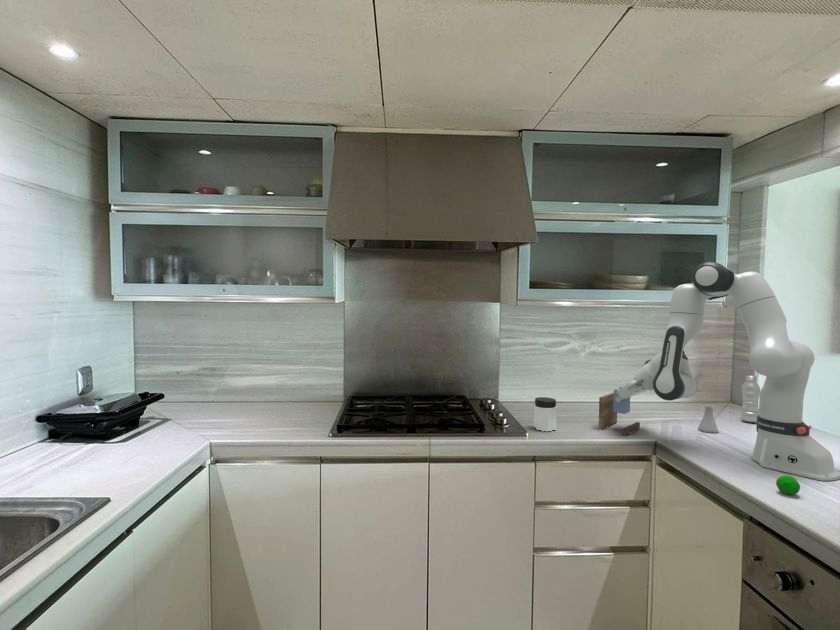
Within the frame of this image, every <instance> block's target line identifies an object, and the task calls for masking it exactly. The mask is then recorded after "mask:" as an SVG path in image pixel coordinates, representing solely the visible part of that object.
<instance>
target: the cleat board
mask: <svg viewBox="0 0 840 630" xmlns="http://www.w3.org/2000/svg"><path fill="white" fill-rule="evenodd" d="M598 398H599V400H598V401H599V404H598V430H599V429H602V430H601V431H604V430H606V429H608V428H607V427H609V428H610V426H611V427H613V426H615V425H617V424H618V413H617V412H613V405H614V392H612V393H608V394H606V395H602V396H600V397H598ZM616 423H617V424H616ZM614 424H615V425H614ZM612 425H613V426H612ZM605 428H606V429H605ZM640 428H641V423H640V422H638V421H636V422H634V423H631V424H630V425H628V426H625V427H623V428H622V436H628V435H630V434H632V433H634V432H636V431H638V430H639V429H640ZM603 429H604V430H603ZM635 430H636V431H635ZM633 431H634V432H633ZM631 432H632V433H631ZM629 433H630V434H629ZM627 434H628V435H627Z"/></svg>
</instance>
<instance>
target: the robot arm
mask: <svg viewBox="0 0 840 630" xmlns="http://www.w3.org/2000/svg"><path fill="white" fill-rule="evenodd" d="M691 282H692V283H683V284H680V285H678V286H676V287H675V288H674V289H673V292H672V295H671V299H670V303H669V309H668V319H667V327H666V331H665V337H664V340H663V345H662V351H660V352H659V353H658V354H656V355H655V356H653V357H652V359H651V360H650V361H649V362H648V363H645V364H644V365H642V367H640V368H639V369H638V370H636V371H635V372H634V377H633V380H631V381H629V382H628V383H626V384H625V385H623V386H621V387H622V388H621V389H619V390H618V391H617V394H618V395H619V396H618V397H617V398H616V399H615V400H616V401H617V402H620V401H622V400H623V399H626V398H628V397H630V398H631V397H634V396H636V395H639V394H642V393H644V392H646V391H654V394H656V395H657V396H658V397H659V398H660V399H662V400H664V401H669V402H670V401H675V400H678V399H679V400H680V399H687V398H690V397H693V396H694V395H695V394H696V393H697V390H698V382H697V380H696V378H695V376H693V373H692V371H691V369H690V366H689V358H688V356H687V355H686V354H685V353H684V349H685V347H686V345H687V344H688V343H689V342H690V341H691V340H692V339H695V338H696V337H697V336H698V335H699V334H700V333H701V330H702V327H703V324H704V314H705V306H706V303H707V301H711V300H712V301H713V300H716V299H720V298H725V297H727V296H730V297H731V299H732V300H733V303H734V305H735V307H736V309H737V311H738V313H739V316H740V318H741V320H742V322H743V325H744V327H745V330H746V332H747V337H748V342H749V348H750V349H749V350H750V354H749V358H748V359H749V365H750V366H751V369H752V370H753V371H755V372H756V373H757V374H759V375H761V376H764V377H765V380H764V384H763V386H762V388H760V395H759V401H758V407H759V415H758V416H757V422H756V424H755V427H756V440H755V443H754V448H753V450H752V453H751V456H750V458H751V459H752V460H753V461H755V462H756V463H758V465H759V466H761V467H763V468H765V469H772V470H775V471H780V472H782V473H783V472H784V473H788V474H792V475H795V476H800V477H804V478H805V477H806V478H810V479H813V480H818V481H822V482H823V481H824V482H828V481H829V482H830V481H836V480H840V468H837V467H835V463H834V459H833V455H832V452H831V451H830V450H829V449H827V448H826V447H825V446H823V445H822V444H821V443H819V442H818V441H817V440H816V439H815V438H813V437H812V436H811V435H810V430H812V427H813V426H812V425H810V424H809V425H807V424H806V423H805V422H804V421H803V414H804V397H805V393H806V390H807V389H806V388H807V384H808V380H809V377H810V372H811V369H812V367H813V365H814V362H815V359H816V358H815V354H814V352H813V351H812V349H811V348H810V347H808V346H807V345H805V344H803V343H800V342H799V341H798V342H797V341H793V340H790V339H789V336H788V335H789V334H788V330H787V323H788V322H787V317H786V315H785V314H784V311H783V309H782V307H781V305H780V302H779V301H778V299H777V296H776V294H775V292H774V290H773V288H772V287H771V286H770V284H769V283H768V281H767V280H766V278H764V276H763V275H762V274H761V273H759V272H758V271H744V272H742V273H735V272H734V271H732V270H730V268H729V267H727V266H726V265H723V264H721V263H718V262H716V261H708V262H707V261H706V262H703V263H701V264H699V265H697V266H696V267H695V268H694V270H693V272H692V274H691Z"/></svg>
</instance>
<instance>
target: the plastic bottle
mask: <svg viewBox="0 0 840 630" xmlns="http://www.w3.org/2000/svg"><path fill="white" fill-rule="evenodd" d="M757 381H758V376H756V375H752V374H751V375H750V374H749V375H748V374H747V375H746V376H745V381H744V382H743V384H742V385H741V393H742V394H741V395H742V407H741V411H740V418H741V420H742V421H743V422H747V423H756V422H757V416H758V415H759V395H760V391H761V386H760V385H759V384H758V383H757Z"/></svg>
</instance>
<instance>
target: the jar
mask: <svg viewBox="0 0 840 630" xmlns="http://www.w3.org/2000/svg"><path fill="white" fill-rule="evenodd" d="M557 410H558V407H557V400H556V399H555V398H553V397H548V396H547V397H545V396H544V397H543V396H540V397H535V398H534V405H533V428H534V427H535V428H536V429H537V430H544V431H551V432H553V431H552V430H556V431H557V415H558V414H557V412H558V411H557ZM535 428H534V429H535ZM536 429H535V430H536ZM537 430H536V431H537ZM544 431H543V432H544Z"/></svg>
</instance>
